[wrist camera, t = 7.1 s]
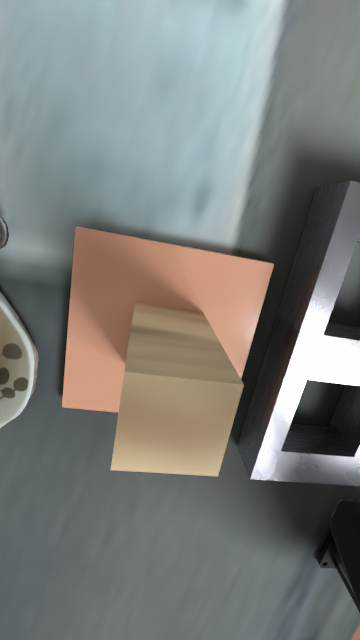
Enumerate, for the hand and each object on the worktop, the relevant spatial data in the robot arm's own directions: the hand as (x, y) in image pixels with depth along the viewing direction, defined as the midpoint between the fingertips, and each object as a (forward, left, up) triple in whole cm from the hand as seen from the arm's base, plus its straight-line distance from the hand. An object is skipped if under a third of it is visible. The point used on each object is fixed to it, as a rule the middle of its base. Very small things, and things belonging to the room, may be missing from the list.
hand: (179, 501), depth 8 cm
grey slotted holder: (+1, -11, -12) cm, 16 cm away
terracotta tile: (0, 0, -12) cm, 12 cm away
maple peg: (0, 0, -11) cm, 11 cm away
